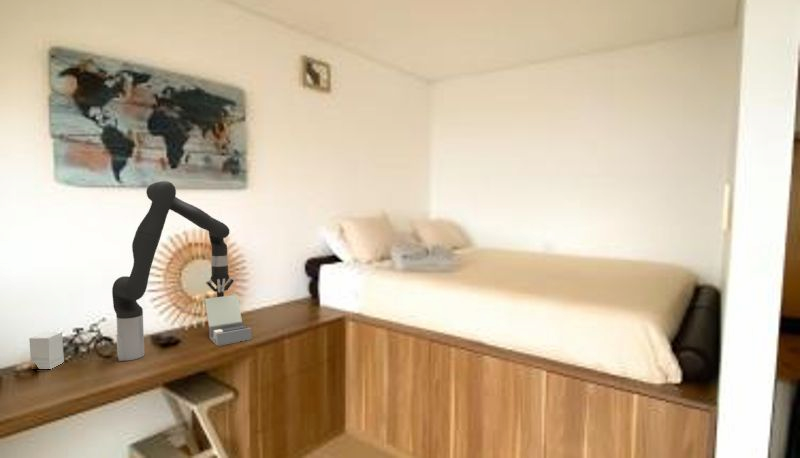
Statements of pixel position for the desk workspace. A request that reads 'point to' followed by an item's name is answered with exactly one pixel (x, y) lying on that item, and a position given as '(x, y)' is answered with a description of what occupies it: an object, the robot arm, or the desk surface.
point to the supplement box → (47, 350)
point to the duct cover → (223, 310)
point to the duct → (230, 334)
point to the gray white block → (227, 330)
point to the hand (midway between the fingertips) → (220, 299)
